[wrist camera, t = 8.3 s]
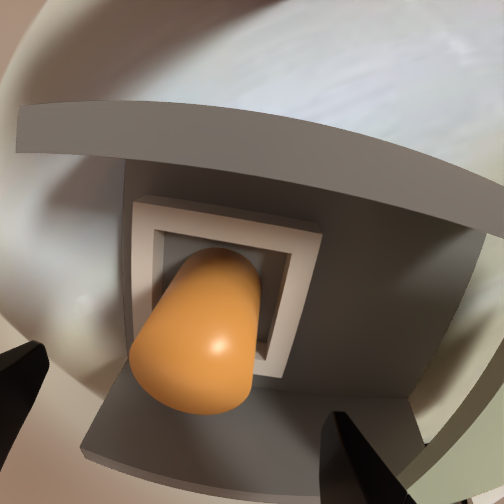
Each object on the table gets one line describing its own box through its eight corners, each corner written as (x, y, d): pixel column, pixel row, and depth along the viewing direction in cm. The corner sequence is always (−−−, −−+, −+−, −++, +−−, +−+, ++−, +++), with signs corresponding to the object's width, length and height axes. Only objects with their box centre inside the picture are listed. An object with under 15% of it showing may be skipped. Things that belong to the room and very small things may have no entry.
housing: (396, 399, 18) (425, 493, 11) (134, 362, 18) (85, 458, 11) (487, 189, 13) (595, 239, 5) (140, 111, 13) (19, 106, 5)
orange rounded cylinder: (253, 328, 15) (241, 423, 10) (176, 313, 15) (134, 398, 10) (268, 256, 14) (263, 340, 8) (181, 240, 14) (125, 311, 8)
